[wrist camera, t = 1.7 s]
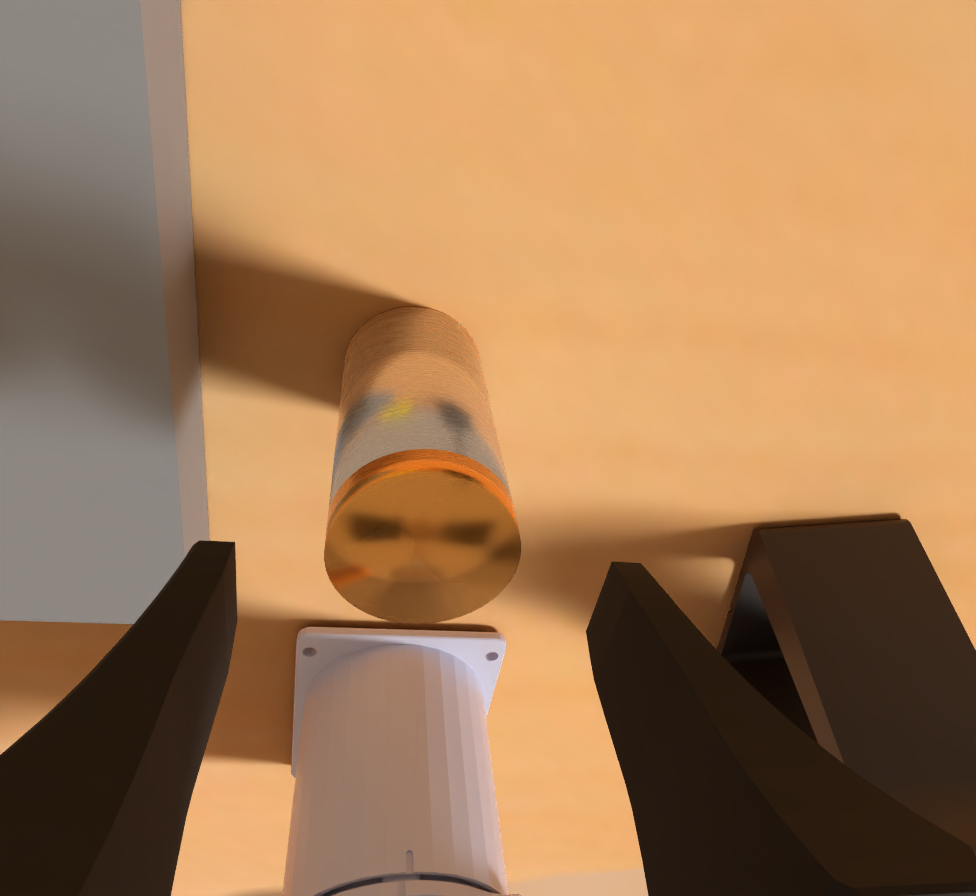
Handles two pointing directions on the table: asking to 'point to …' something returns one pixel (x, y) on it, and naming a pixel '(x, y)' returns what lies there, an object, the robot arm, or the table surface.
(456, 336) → the glass jar with lid
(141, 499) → the dock plate
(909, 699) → the phone stand
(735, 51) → the table surface
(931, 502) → the table surface
